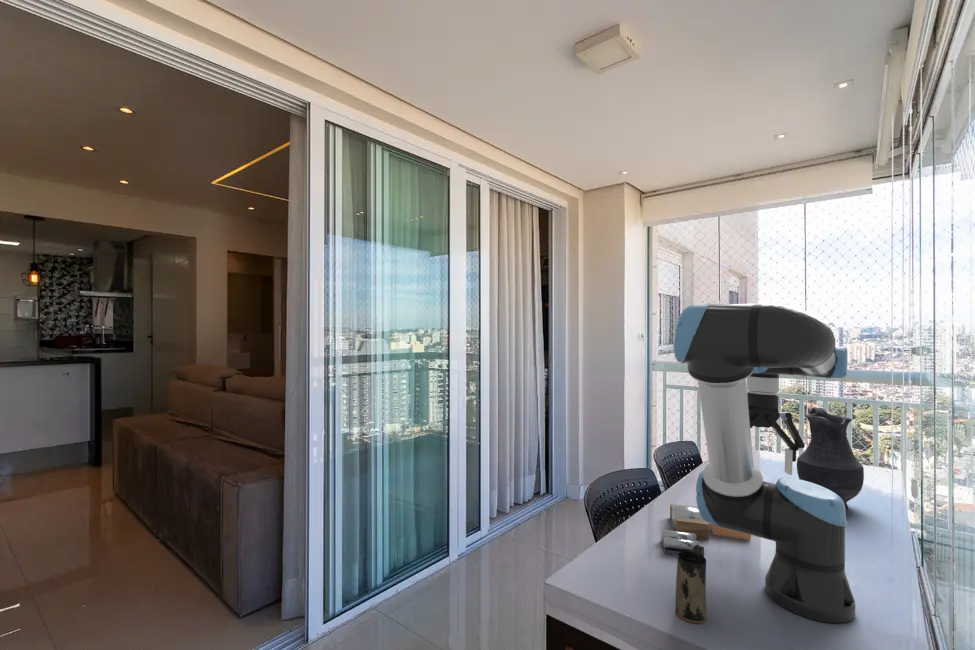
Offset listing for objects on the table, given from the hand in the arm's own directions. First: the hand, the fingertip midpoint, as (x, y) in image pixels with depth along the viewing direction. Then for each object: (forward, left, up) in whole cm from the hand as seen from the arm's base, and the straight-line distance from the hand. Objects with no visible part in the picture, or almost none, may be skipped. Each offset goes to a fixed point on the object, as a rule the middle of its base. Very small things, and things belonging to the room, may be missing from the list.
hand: (760, 471), depth 125 cm
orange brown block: (-2, +8, -17) cm, 19 cm away
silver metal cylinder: (-2, +18, -17) cm, 25 cm away
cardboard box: (-2, +18, -17) cm, 25 cm away
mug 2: (-43, +25, -17) cm, 52 cm away
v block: (-16, +23, -17) cm, 32 cm away
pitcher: (+32, -29, -17) cm, 47 cm away
